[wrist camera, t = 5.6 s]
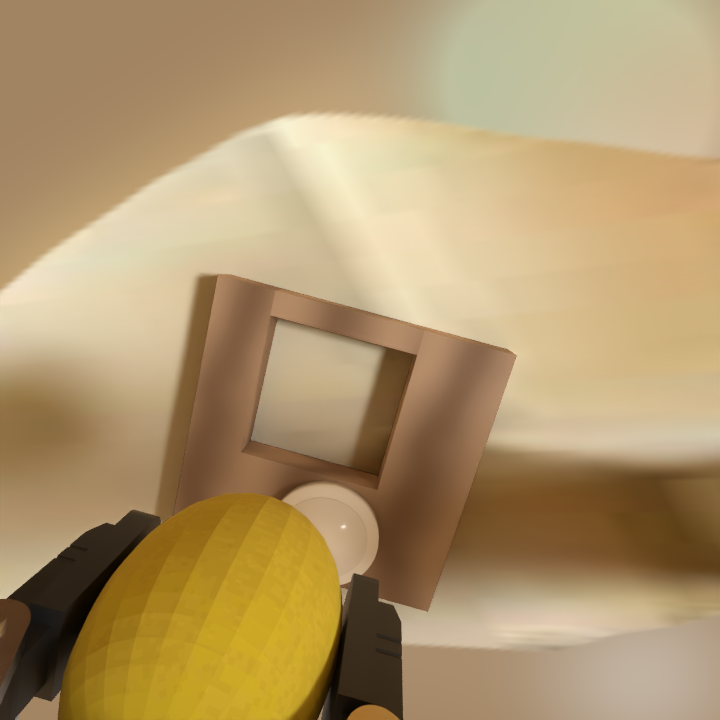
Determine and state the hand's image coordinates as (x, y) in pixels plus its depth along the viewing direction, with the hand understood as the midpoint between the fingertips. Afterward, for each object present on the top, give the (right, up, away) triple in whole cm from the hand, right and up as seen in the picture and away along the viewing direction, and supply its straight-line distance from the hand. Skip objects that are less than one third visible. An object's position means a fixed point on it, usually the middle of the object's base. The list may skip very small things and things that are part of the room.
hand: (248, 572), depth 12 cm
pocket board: (+1, 0, +17) cm, 17 cm away
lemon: (0, +1, +2) cm, 2 cm away
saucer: (+1, -5, +16) cm, 17 cm away
